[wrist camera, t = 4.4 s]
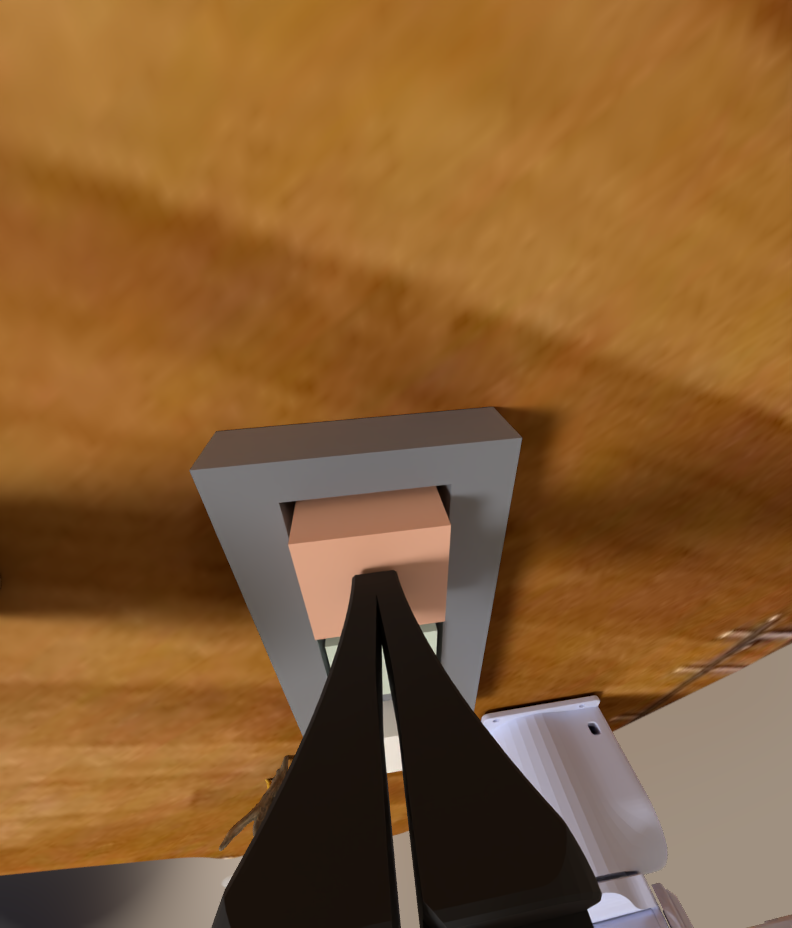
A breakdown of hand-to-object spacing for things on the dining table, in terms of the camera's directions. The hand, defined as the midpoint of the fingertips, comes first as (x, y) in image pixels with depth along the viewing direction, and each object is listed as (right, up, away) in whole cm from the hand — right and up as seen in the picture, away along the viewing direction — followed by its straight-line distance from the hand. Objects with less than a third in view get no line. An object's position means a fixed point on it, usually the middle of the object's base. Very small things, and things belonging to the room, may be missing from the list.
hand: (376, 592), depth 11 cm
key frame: (0, -4, +7) cm, 8 cm away
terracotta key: (0, +1, +2) cm, 3 cm away
